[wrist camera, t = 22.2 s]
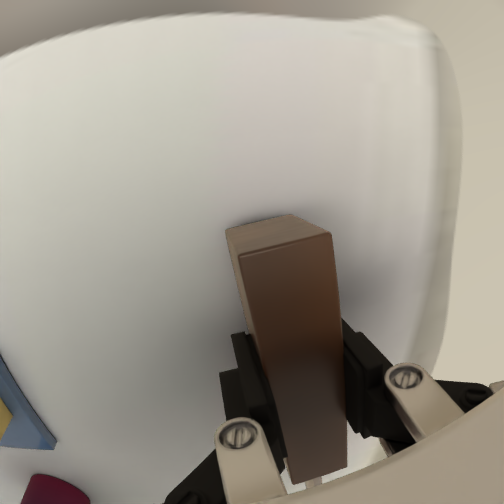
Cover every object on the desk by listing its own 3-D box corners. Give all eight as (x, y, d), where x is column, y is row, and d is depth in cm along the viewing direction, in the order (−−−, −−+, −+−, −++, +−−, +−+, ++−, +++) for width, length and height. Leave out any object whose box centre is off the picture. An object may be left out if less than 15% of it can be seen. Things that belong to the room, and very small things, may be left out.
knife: (291, 213, 11) (332, 231, 8) (328, 494, 16) (345, 531, 13) (224, 229, 11) (236, 255, 7) (294, 505, 16) (308, 543, 12)
